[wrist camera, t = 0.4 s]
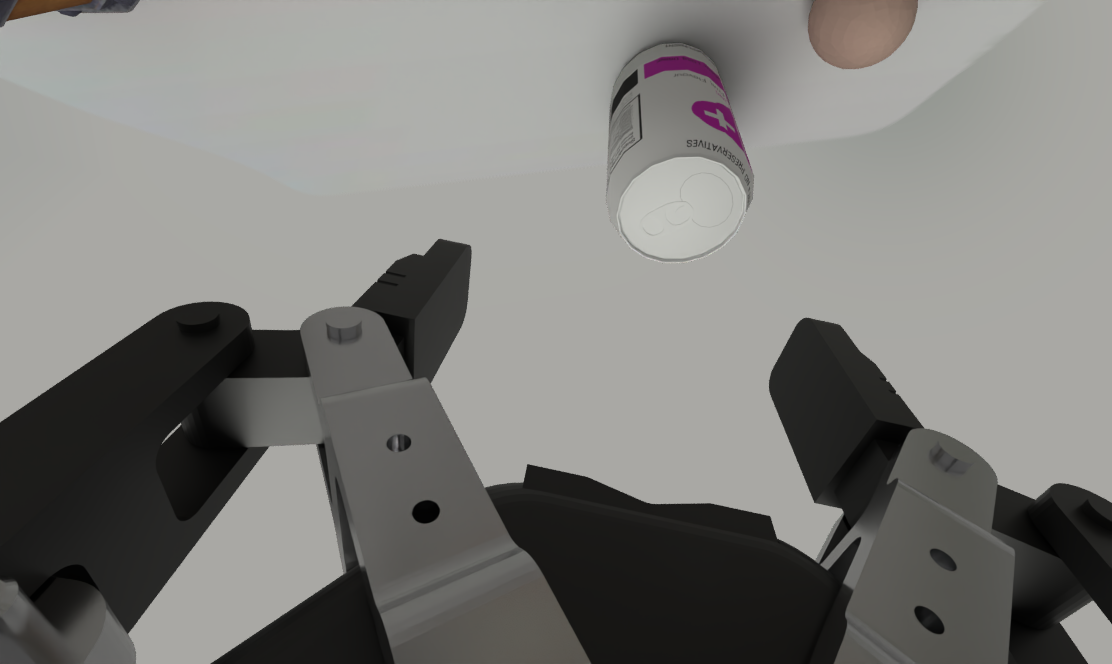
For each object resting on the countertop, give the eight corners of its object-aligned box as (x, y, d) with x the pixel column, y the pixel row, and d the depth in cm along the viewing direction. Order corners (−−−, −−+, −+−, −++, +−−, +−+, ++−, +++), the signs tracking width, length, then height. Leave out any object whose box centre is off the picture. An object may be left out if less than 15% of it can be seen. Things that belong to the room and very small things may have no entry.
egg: (911, -32, 29) (968, 3, 24) (845, 57, 33) (883, 103, 28) (838, -69, 28) (882, -40, 23) (779, 27, 32) (806, 69, 27)
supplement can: (694, 12, 32) (726, 112, 22) (736, 116, 37) (778, 237, 27) (590, 81, 36) (578, 192, 26) (641, 167, 41) (647, 288, 31)
